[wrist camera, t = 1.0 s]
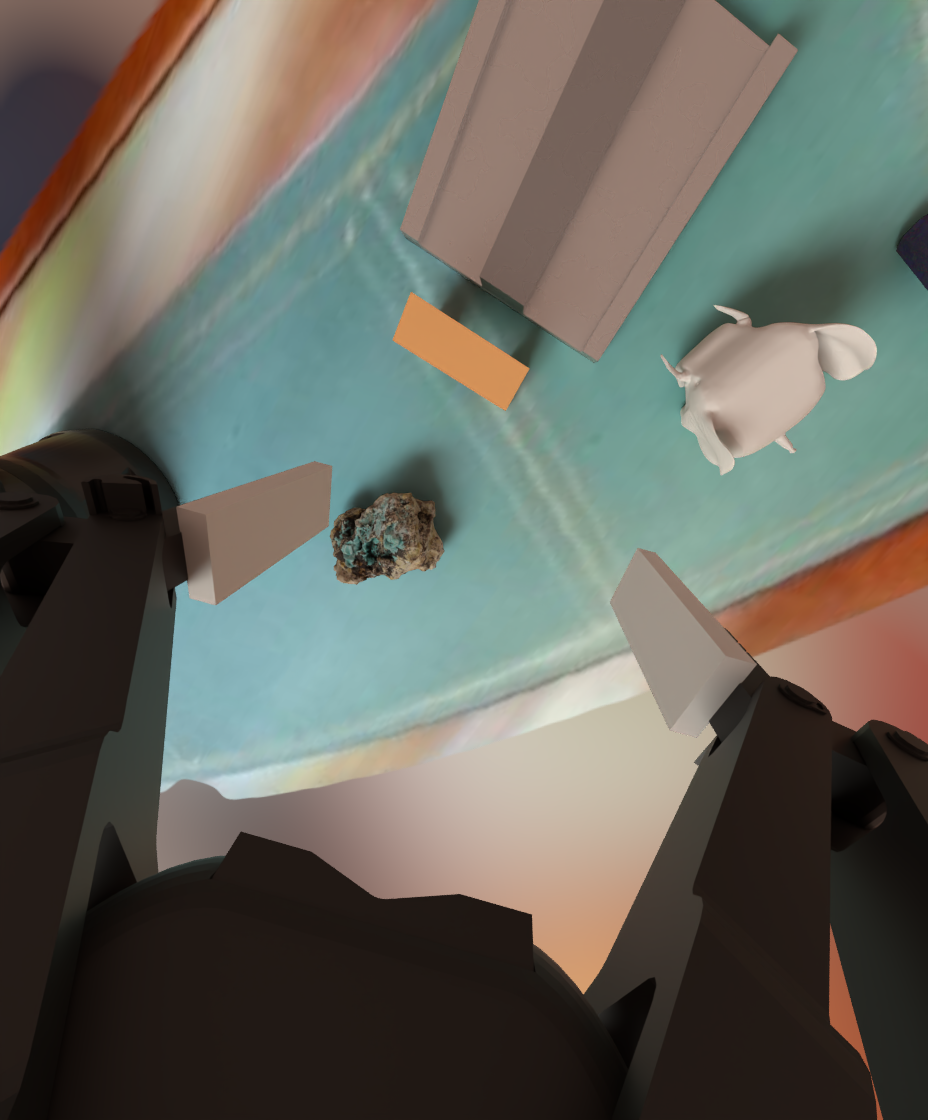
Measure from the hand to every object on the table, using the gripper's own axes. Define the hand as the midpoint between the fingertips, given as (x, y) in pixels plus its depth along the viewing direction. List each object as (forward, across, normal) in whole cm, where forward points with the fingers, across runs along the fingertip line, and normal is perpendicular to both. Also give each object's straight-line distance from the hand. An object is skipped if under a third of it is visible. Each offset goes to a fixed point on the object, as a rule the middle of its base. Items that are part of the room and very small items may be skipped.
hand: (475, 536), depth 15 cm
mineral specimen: (+21, -9, -11) cm, 26 cm away
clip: (+21, -4, +7) cm, 23 cm away
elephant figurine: (+21, +16, +10) cm, 29 cm away
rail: (+21, 0, +21) cm, 29 cm away
